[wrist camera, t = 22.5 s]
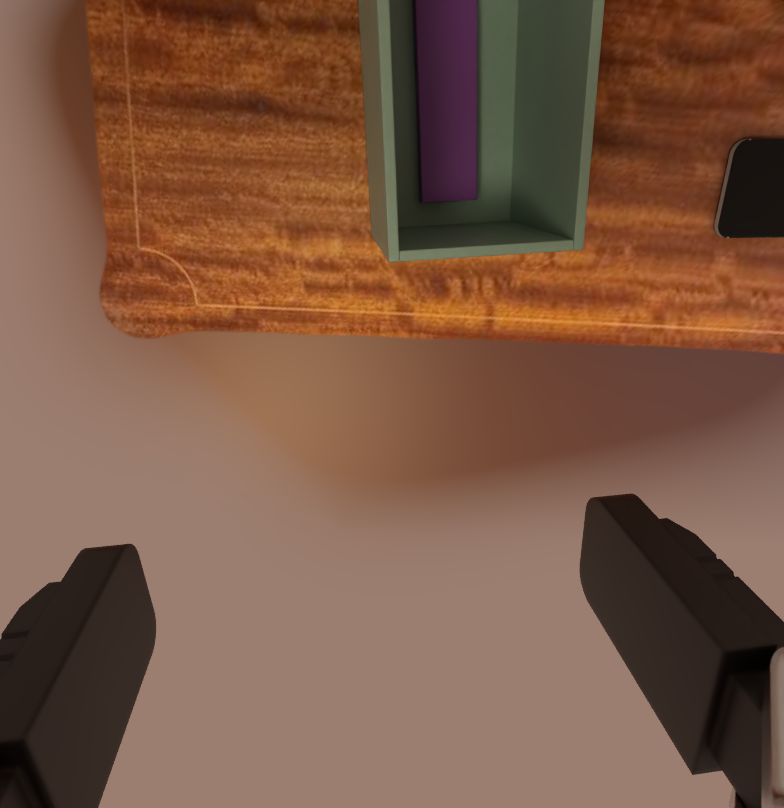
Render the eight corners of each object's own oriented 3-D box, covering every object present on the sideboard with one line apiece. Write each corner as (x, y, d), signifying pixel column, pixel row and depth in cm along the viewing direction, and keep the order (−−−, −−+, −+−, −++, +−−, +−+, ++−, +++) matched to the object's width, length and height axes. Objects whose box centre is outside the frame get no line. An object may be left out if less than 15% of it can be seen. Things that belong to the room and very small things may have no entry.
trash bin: (371, 236, 43) (388, 262, 31) (345, -212, 33) (357, -415, 21) (514, 227, 44) (583, 249, 32) (532, -210, 34) (640, -404, 22)
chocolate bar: (472, 198, 42) (477, 199, 41) (419, 202, 42) (422, 203, 40) (471, -153, 34) (477, -165, 33) (406, -152, 34) (409, -164, 32)
